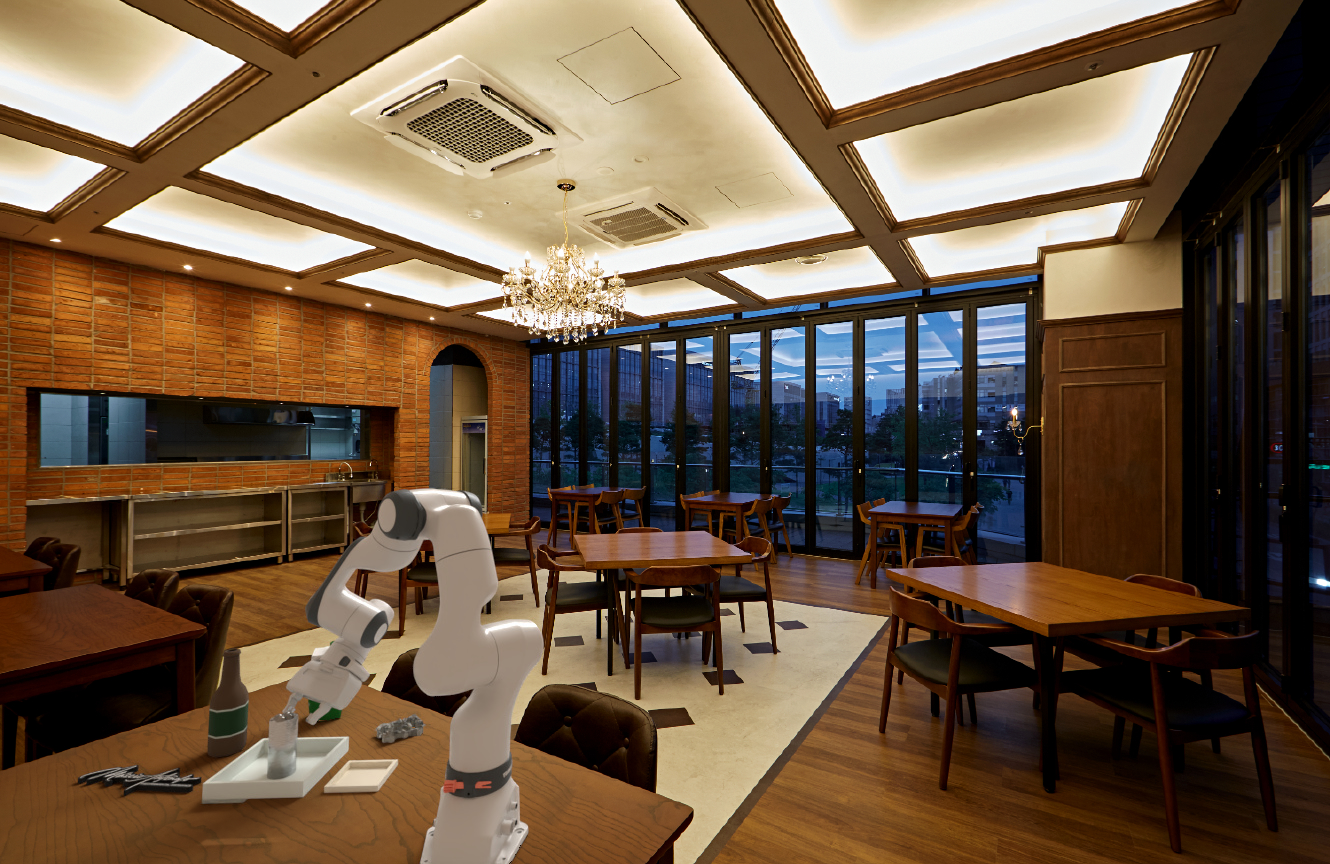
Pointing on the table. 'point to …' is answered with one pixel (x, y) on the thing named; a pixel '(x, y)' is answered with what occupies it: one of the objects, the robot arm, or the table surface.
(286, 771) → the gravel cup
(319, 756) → the bin
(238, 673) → the beer bottle
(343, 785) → the tray
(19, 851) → the table surface
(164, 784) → the nameplate
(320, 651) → the milk carton
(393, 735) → the egg carton
